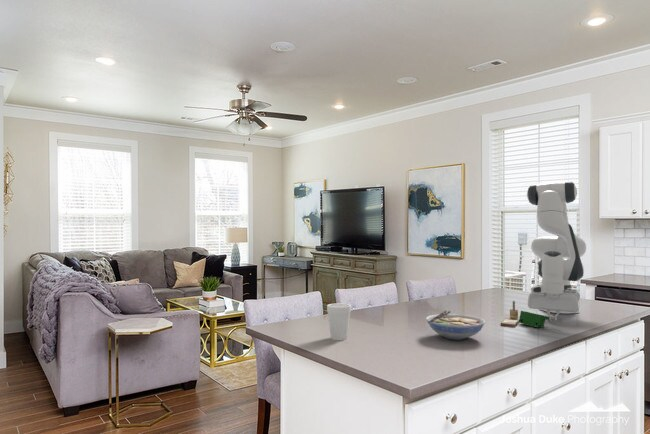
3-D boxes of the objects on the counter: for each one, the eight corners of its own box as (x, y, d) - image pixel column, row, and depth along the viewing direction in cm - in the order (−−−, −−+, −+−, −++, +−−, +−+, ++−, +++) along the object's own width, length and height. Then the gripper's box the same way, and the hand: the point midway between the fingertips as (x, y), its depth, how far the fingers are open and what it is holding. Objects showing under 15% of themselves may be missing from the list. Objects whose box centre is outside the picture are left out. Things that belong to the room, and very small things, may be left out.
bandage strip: (506, 320, 217) (505, 317, 217) (519, 321, 214) (519, 319, 214) (500, 325, 206) (500, 322, 206) (514, 327, 203) (514, 324, 203)
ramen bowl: (476, 349, 167) (476, 326, 167) (416, 340, 179) (416, 319, 179) (492, 335, 188) (491, 315, 188) (437, 328, 200) (437, 309, 200)
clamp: (543, 336, 203) (553, 319, 201) (533, 334, 201) (543, 317, 199) (525, 321, 214) (535, 304, 212) (516, 319, 212) (525, 302, 209)
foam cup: (322, 337, 184) (322, 304, 185) (342, 334, 189) (342, 302, 189) (335, 342, 176) (335, 308, 176) (355, 339, 181) (355, 306, 181)
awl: (510, 319, 221) (510, 300, 221) (518, 319, 219) (518, 300, 219) (509, 320, 217) (509, 301, 218) (517, 321, 216) (517, 302, 216)
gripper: (580, 289, 200) (580, 321, 200) (528, 286, 210) (529, 316, 210) (579, 291, 194) (579, 324, 194) (526, 288, 205) (527, 319, 205)
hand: (553, 320), depth 202 cm, fingers closed
